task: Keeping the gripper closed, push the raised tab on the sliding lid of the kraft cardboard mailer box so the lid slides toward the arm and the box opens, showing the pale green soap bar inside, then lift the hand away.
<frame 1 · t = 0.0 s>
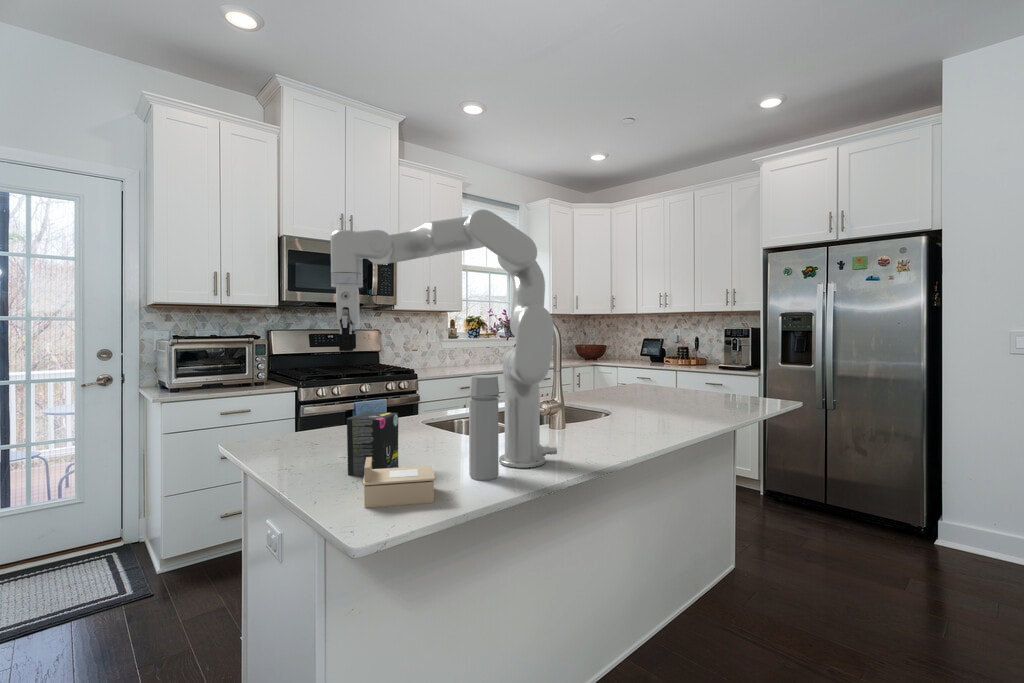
hand: (347, 349, 128), 31 cm above the countertop, tool pointing down, fingers open, 9 cm apart
mailer box: (399, 498, 111), on the countertop
lid: (399, 467, 111), point 7 cm above the countertop, slide at 0.0 cm
water bottle: (486, 477, 126), on the countertop
tampon box: (374, 472, 131), on the countertop
soap bar: (413, 495, 111), resting on mailer box
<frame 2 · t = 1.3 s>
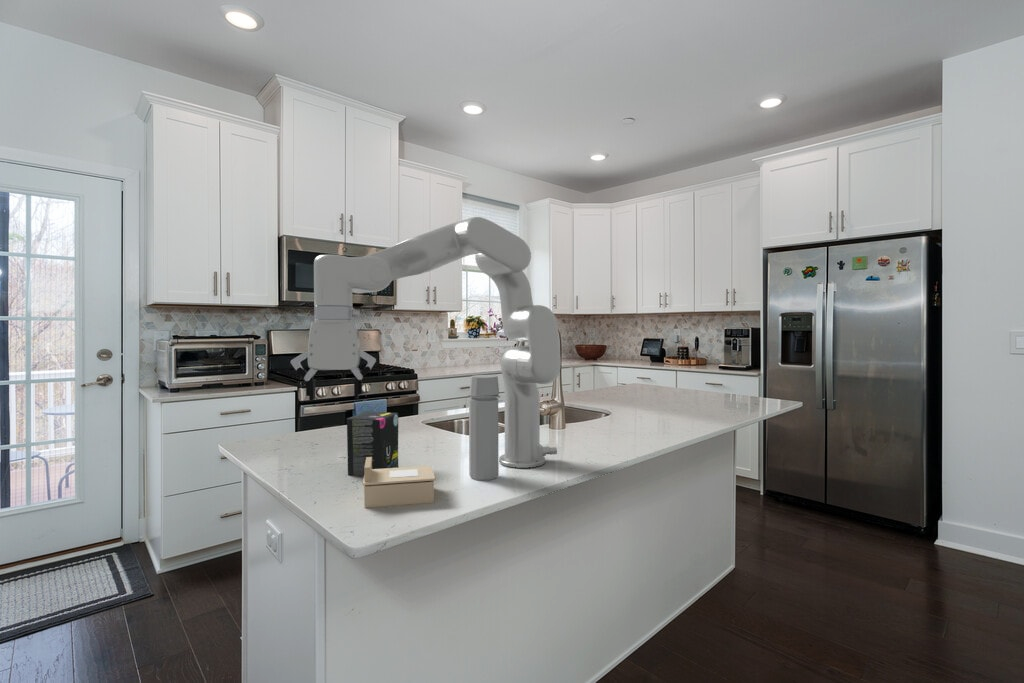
hand: (334, 398, 107), 22 cm above the countertop, tool pointing down, fingers open, 8 cm apart
nothing on the countertop moved.
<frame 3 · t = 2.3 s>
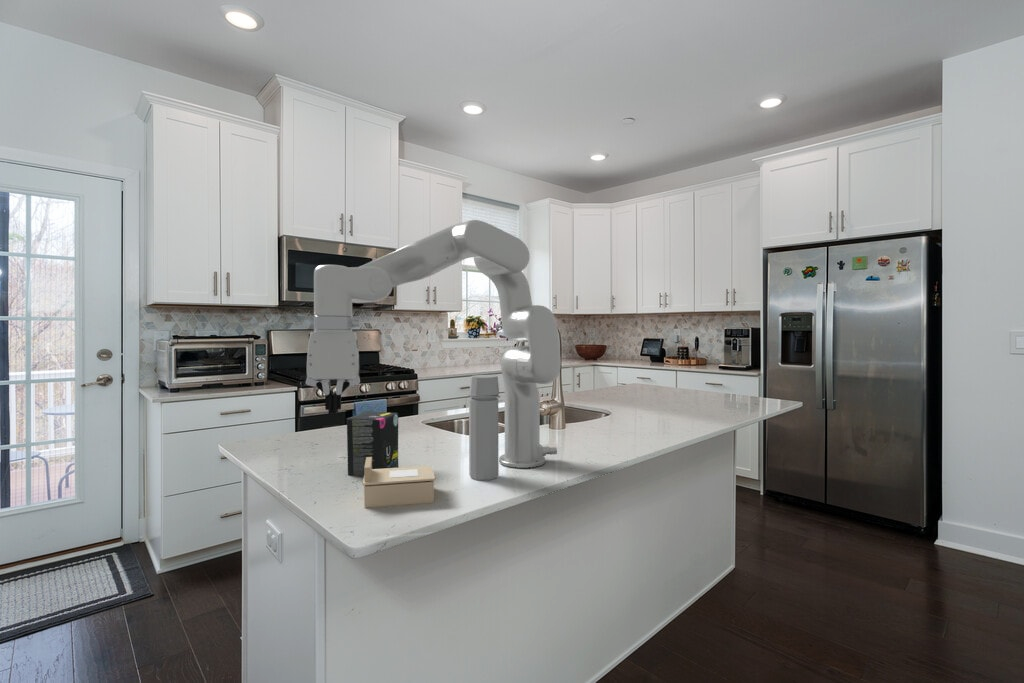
hand: (333, 413, 107), 19 cm above the countertop, tool pointing down, fingers closed
nothing on the countertop moved.
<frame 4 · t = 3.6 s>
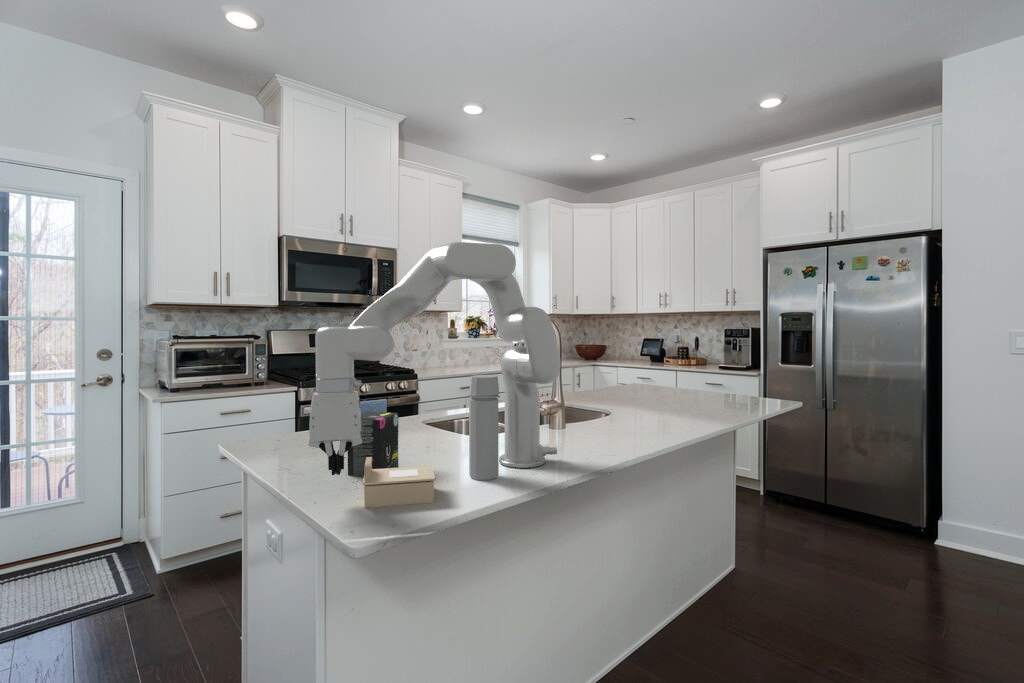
hand: (336, 472, 108), 6 cm above the countertop, tool pointing down, fingers closed
nothing on the countertop moved.
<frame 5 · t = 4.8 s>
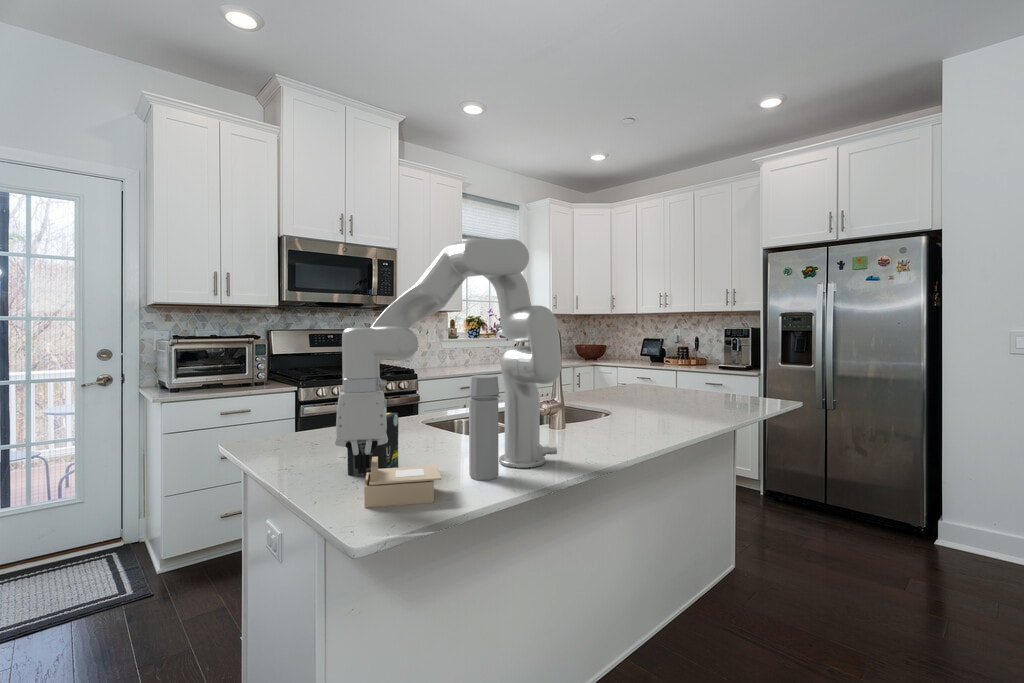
hand: (362, 471, 109), 6 cm above the countertop, tool pointing down, fingers closed
lid: (405, 467, 111), point 7 cm above the countertop, slide at 1.3 cm, touching gripper
everything else where it was.
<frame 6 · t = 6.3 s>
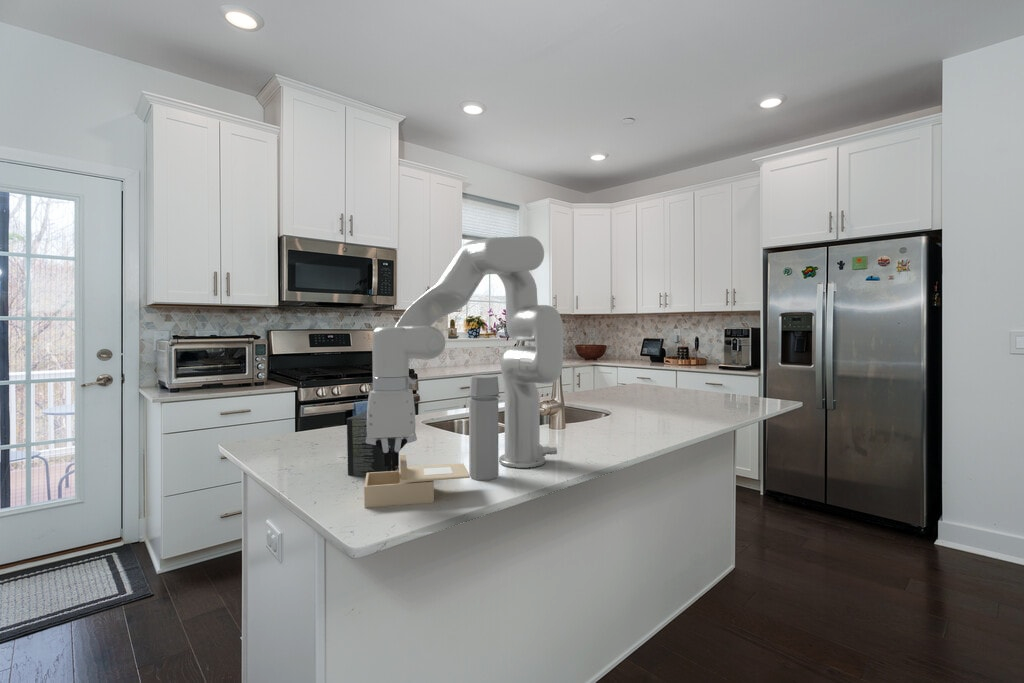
hand: (391, 469, 110), 6 cm above the countertop, tool pointing down, fingers closed
lid: (433, 465, 112), point 7 cm above the countertop, slide at 7.3 cm, touching gripper
everything else where it was.
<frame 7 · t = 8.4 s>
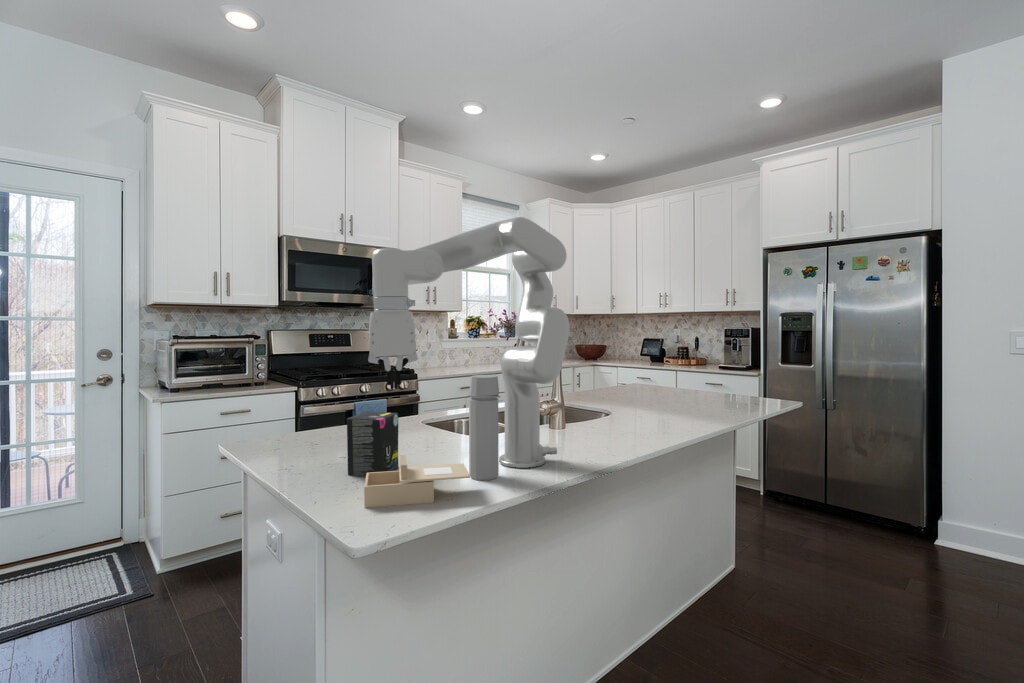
hand: (394, 388, 114), 23 cm above the countertop, tool pointing down, fingers closed
lid: (433, 465, 112), point 7 cm above the countertop, slide at 7.3 cm
everything else where it was.
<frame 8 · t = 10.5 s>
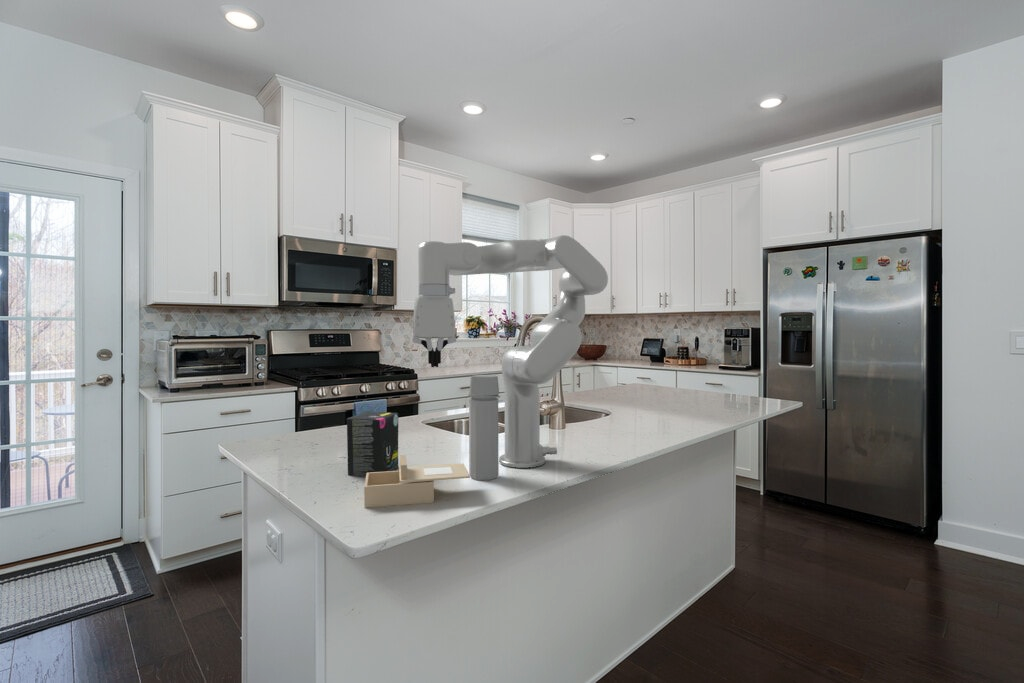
hand: (434, 366, 127), 27 cm above the countertop, tool pointing down, fingers closed
nothing on the countertop moved.
at the end: lid slide at 7.3 cm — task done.
